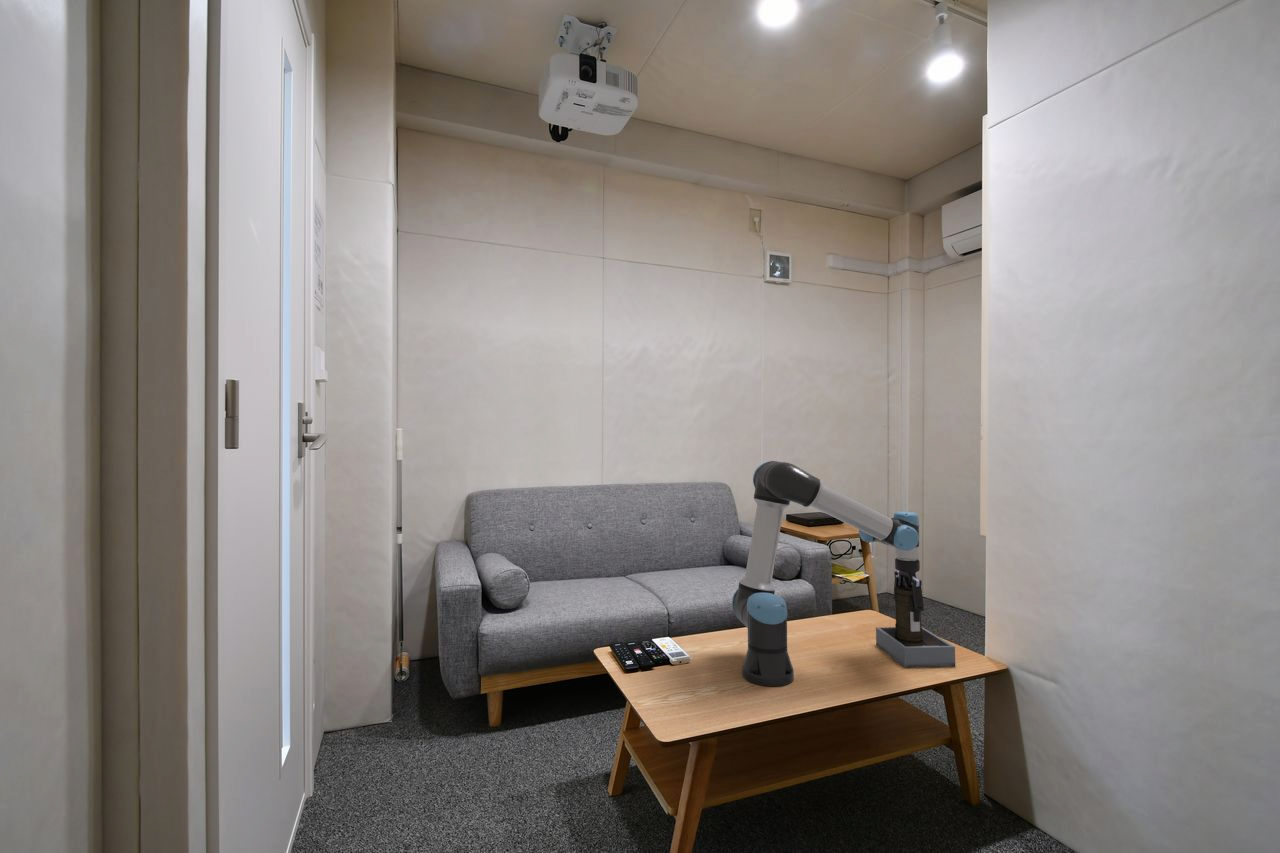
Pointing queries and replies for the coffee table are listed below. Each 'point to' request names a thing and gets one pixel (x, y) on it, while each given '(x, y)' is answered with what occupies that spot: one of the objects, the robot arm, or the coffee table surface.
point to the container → (905, 619)
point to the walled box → (916, 649)
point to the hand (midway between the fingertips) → (908, 626)
